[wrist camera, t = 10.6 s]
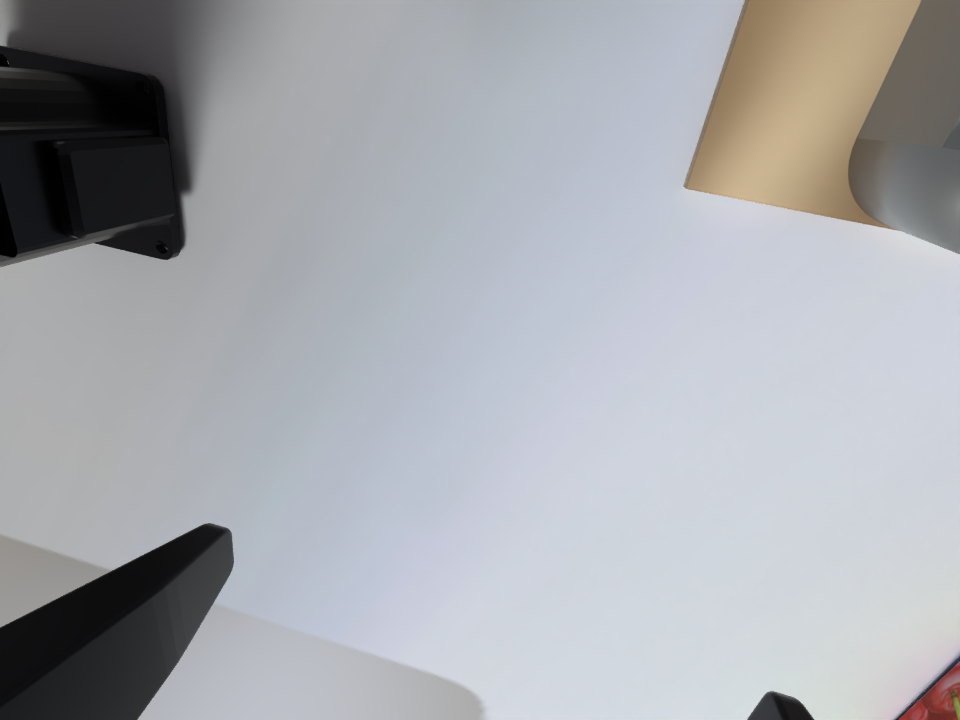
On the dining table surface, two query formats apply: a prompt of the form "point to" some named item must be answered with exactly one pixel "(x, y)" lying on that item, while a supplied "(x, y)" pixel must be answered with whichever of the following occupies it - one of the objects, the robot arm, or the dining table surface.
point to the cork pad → (797, 102)
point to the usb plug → (916, 133)
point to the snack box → (939, 700)
